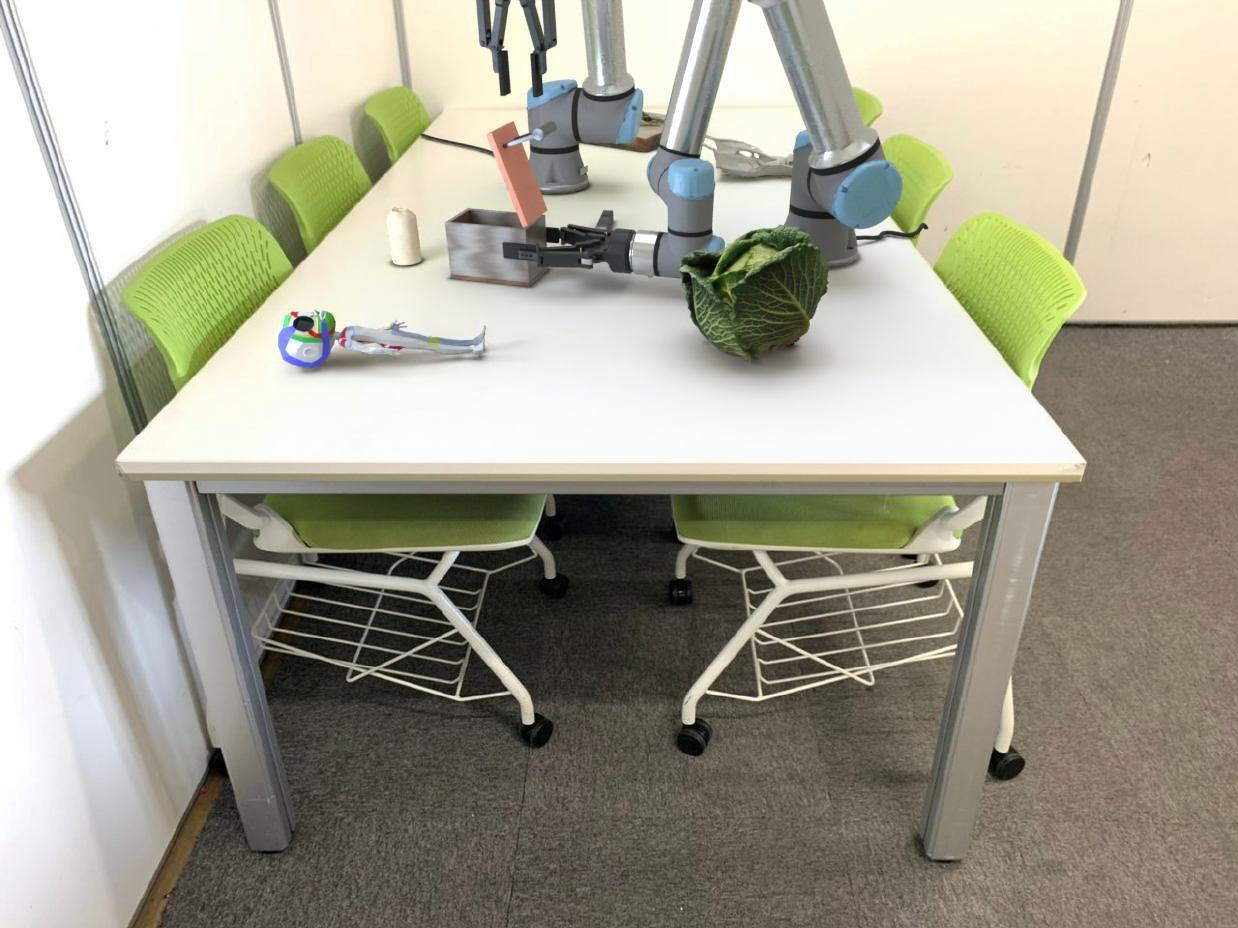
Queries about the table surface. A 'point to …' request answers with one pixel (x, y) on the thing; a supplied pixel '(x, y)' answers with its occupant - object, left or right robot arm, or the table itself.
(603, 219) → the pillar
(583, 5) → the left robot arm
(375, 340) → the toy
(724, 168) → the anatomical model
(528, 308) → the table surface
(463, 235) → the chest
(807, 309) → the vegetable
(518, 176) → the lid
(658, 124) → the plaque
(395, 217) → the candle
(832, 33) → the right robot arm
